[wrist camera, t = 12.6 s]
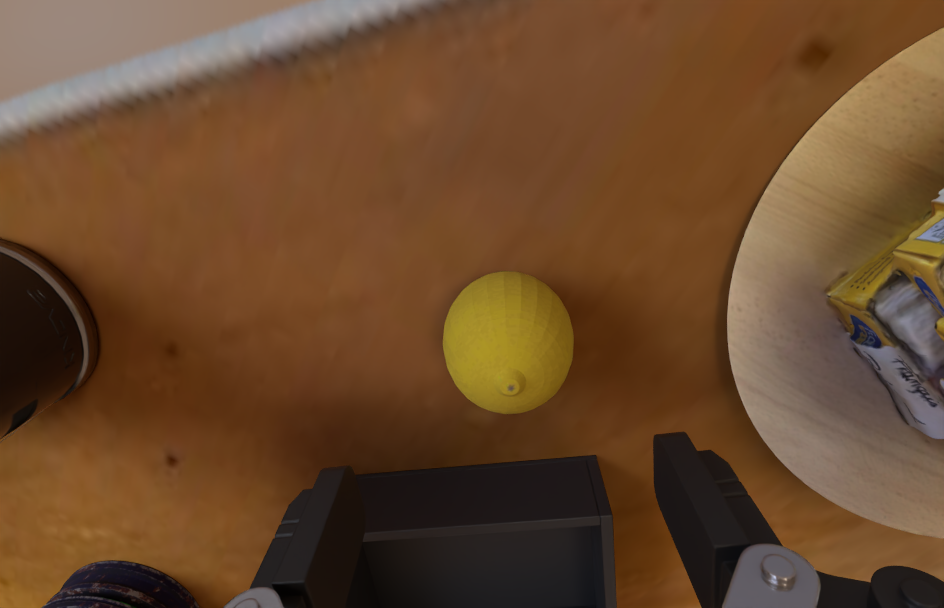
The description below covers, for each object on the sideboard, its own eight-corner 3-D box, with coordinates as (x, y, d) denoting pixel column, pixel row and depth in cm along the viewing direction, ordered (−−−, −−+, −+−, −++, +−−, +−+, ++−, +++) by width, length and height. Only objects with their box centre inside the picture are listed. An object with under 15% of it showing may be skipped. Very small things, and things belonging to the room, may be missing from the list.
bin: (377, 619, 35) (361, 690, 31) (335, 476, 30) (310, 537, 26) (604, 606, 33) (620, 679, 29) (595, 454, 29) (612, 515, 25)
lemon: (513, 371, 27) (519, 475, 20) (428, 310, 26) (402, 396, 19) (584, 295, 25) (621, 379, 18) (498, 226, 24) (499, 285, 17)
